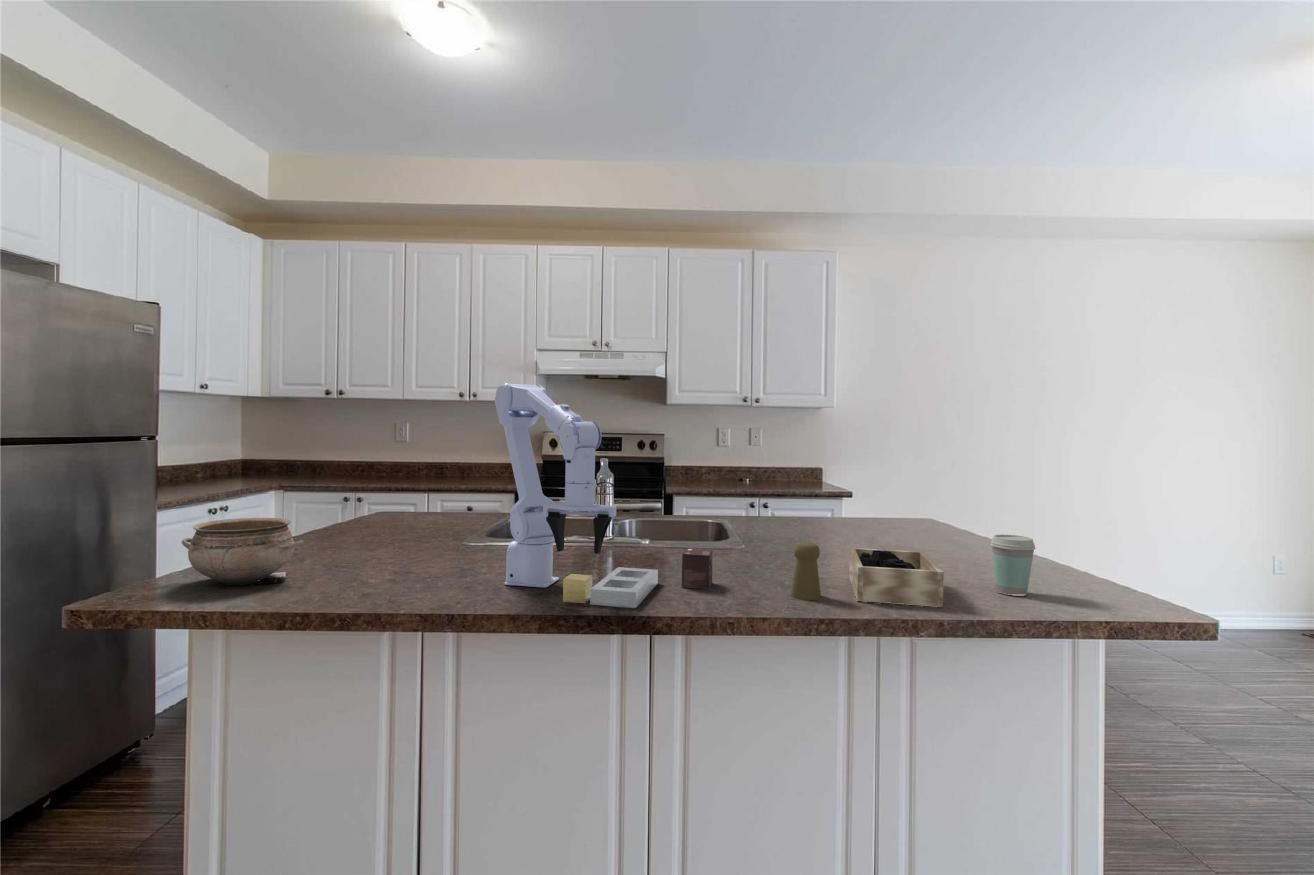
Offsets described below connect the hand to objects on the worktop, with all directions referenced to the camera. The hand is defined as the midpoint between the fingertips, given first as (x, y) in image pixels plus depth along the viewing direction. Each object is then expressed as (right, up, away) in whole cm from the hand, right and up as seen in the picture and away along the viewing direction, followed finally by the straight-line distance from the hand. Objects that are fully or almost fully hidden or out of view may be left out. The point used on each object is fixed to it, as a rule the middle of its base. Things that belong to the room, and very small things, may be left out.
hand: (578, 551), depth 130 cm
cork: (+46, -10, +6) cm, 47 cm away
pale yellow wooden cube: (0, -10, 0) cm, 10 cm away
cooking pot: (-72, -8, +9) cm, 73 cm away
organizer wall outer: (+73, -11, +9) cm, 74 cm away
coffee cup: (+91, -11, +11) cm, 92 cm away
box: (+24, -10, +13) cm, 29 cm away
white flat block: (+9, -9, +5) cm, 14 cm away
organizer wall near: (+63, -11, +1) cm, 64 cm away
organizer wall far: (+68, -10, +20) cm, 71 cm away
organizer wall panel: (+58, -10, +12) cm, 60 cm away
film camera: (+65, -11, +10) cm, 67 cm away
